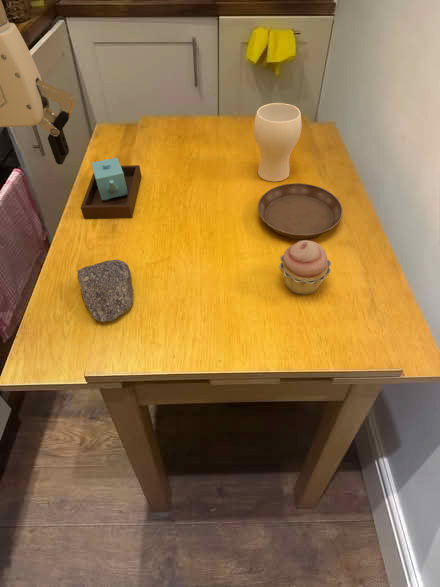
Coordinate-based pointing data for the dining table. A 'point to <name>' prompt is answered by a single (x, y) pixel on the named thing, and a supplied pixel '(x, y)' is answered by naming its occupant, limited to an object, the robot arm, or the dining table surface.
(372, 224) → the dining table surface
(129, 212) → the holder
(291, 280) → the cupcake
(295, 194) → the plant saucer
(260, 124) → the cup
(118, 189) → the teapot
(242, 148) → the dining table surface
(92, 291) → the rock
